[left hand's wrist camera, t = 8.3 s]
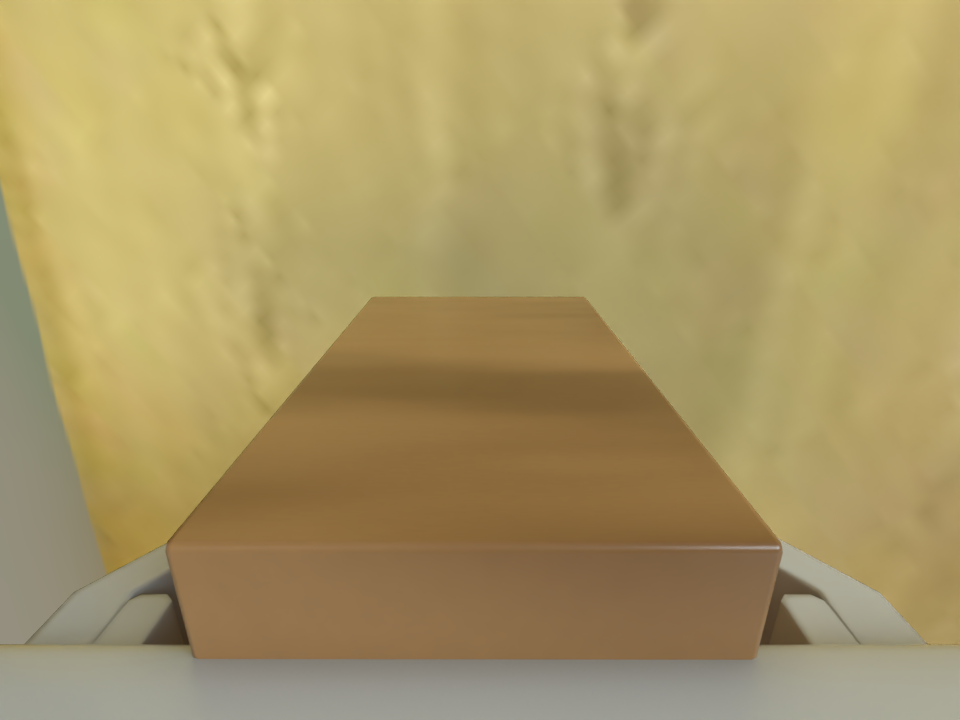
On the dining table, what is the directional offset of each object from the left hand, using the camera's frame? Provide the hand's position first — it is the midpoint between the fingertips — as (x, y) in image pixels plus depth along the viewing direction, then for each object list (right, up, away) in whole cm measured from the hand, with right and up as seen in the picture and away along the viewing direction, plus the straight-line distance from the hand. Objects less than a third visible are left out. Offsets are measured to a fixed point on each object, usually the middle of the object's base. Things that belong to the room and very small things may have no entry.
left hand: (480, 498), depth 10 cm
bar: (0, -7, +7) cm, 10 cm away
